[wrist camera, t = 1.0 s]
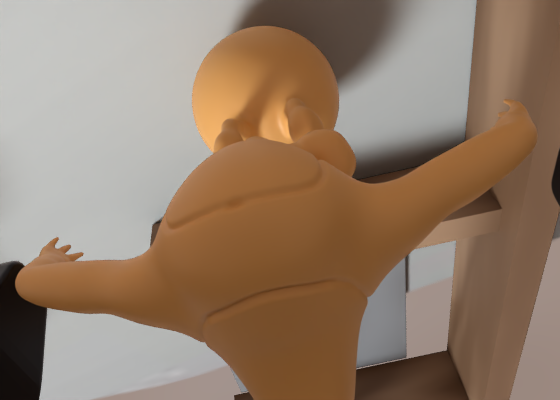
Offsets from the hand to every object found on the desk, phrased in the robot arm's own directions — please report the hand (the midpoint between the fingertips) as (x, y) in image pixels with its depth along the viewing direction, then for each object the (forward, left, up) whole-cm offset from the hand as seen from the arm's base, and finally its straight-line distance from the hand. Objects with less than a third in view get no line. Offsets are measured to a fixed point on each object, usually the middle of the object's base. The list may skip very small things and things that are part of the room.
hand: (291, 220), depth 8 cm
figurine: (0, 0, -8) cm, 8 cm away
